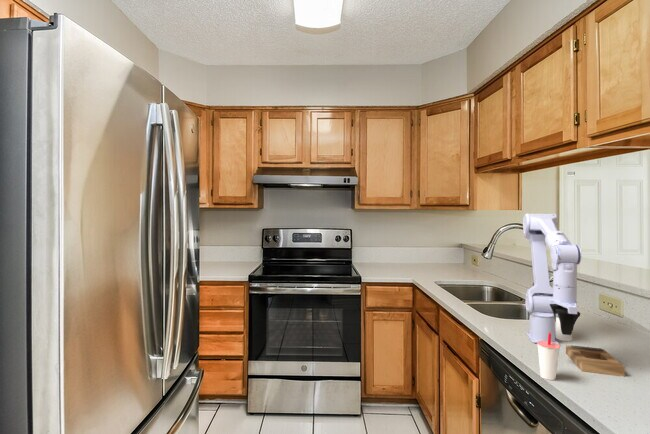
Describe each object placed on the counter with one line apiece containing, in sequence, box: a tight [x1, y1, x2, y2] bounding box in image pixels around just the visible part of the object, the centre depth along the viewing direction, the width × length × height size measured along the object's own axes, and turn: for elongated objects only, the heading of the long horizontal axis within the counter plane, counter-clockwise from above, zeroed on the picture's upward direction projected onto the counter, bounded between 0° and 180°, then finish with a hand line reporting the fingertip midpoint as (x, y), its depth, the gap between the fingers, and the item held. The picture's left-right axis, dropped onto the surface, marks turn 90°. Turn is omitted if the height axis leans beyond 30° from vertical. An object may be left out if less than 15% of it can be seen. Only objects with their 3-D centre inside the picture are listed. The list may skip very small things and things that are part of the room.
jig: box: [565, 344, 626, 377], centre depth 104 cm, size 13×10×3 cm
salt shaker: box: [555, 313, 573, 342], centre depth 104 cm, size 4×4×7 cm
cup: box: [536, 333, 561, 381], centre depth 95 cm, size 5×5×12 cm
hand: (563, 331), depth 104 cm, fingers closed on salt shaker, 4 cm apart
